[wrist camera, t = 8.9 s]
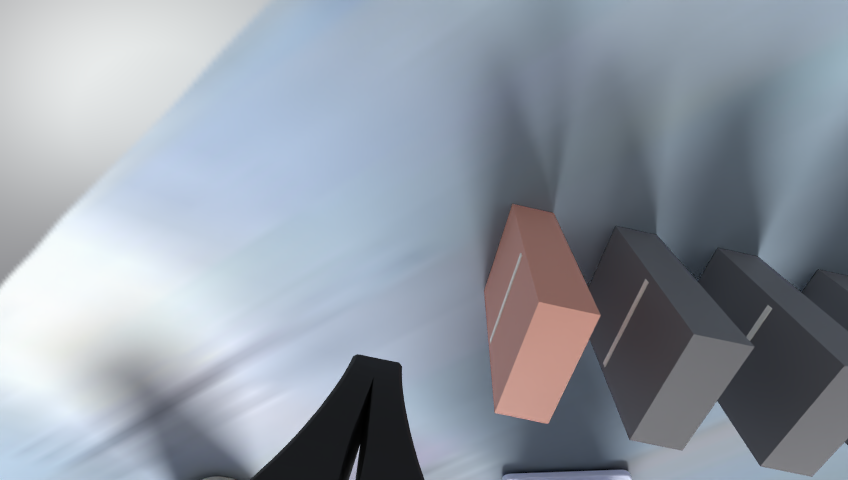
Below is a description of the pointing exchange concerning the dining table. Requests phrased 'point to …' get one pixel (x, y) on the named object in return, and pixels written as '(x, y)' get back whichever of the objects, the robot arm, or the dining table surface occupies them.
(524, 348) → the salmon end domino
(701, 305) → the domino
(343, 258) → the dining table surface
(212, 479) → the beverage can
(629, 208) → the dining table surface
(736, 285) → the domino
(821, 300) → the domino
